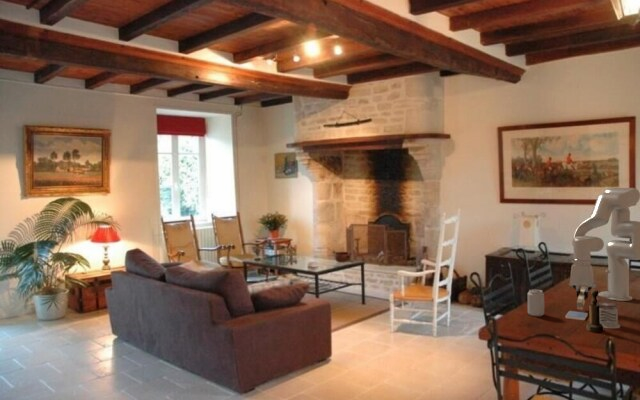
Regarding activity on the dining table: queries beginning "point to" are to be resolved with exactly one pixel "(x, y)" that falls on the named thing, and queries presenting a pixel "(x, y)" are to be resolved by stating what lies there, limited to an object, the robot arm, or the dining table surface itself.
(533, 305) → the can
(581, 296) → the cream wooden plank
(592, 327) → the pepper mill
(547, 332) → the dining table surface
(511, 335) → the dining table surface
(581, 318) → the tile
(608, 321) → the french press
